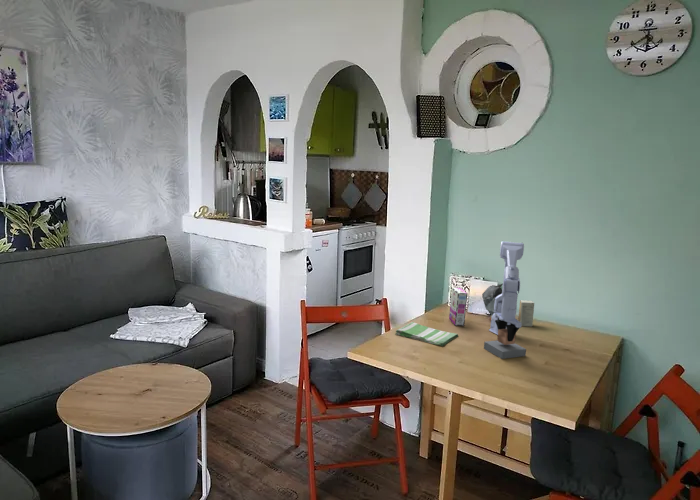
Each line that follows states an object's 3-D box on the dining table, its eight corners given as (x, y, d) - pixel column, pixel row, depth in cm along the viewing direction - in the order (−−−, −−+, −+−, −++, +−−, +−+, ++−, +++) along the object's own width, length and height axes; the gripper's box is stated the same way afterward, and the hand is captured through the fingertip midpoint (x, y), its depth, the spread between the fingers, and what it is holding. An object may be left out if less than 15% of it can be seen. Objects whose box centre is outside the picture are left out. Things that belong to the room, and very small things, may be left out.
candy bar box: (465, 326, 246) (468, 293, 243) (454, 325, 245) (457, 293, 242) (458, 319, 257) (461, 287, 254) (448, 318, 256) (451, 287, 253)
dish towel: (442, 348, 216) (442, 341, 216) (394, 335, 229) (394, 329, 228) (458, 337, 231) (458, 331, 230) (412, 326, 243) (412, 320, 243)
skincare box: (530, 324, 254) (532, 300, 252) (532, 326, 250) (535, 303, 247) (517, 323, 254) (519, 299, 252) (519, 325, 250) (521, 302, 248)
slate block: (483, 348, 216) (484, 341, 216) (506, 345, 221) (507, 339, 220) (501, 358, 206) (502, 351, 205) (525, 355, 210) (526, 349, 210)
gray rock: (473, 318, 259) (476, 284, 256) (486, 312, 270) (489, 279, 267) (499, 325, 250) (503, 289, 246) (512, 318, 261) (516, 285, 258)
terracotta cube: (497, 340, 214) (498, 329, 213) (506, 339, 216) (507, 328, 215) (504, 344, 209) (506, 333, 209) (514, 343, 211) (515, 332, 210)
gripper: (490, 303, 215) (487, 333, 217) (512, 313, 202) (509, 345, 204) (503, 302, 218) (500, 332, 220) (526, 312, 204) (523, 344, 207)
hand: (505, 338), depth 212 cm, fingers closed on terracotta cube, 5 cm apart
